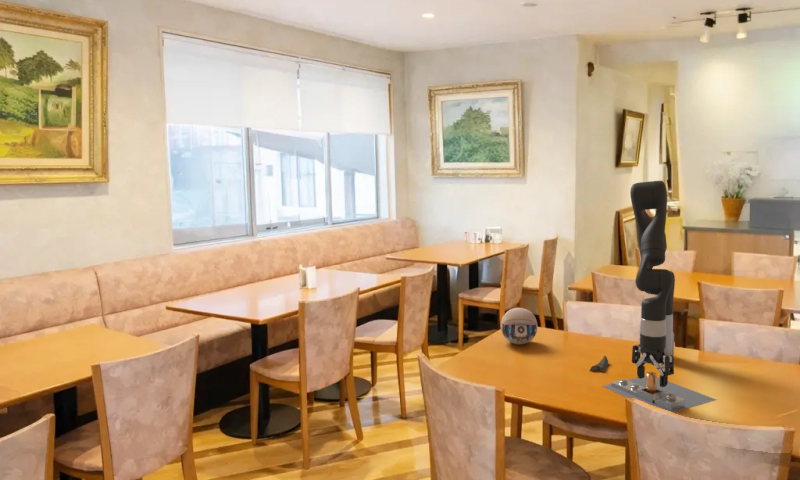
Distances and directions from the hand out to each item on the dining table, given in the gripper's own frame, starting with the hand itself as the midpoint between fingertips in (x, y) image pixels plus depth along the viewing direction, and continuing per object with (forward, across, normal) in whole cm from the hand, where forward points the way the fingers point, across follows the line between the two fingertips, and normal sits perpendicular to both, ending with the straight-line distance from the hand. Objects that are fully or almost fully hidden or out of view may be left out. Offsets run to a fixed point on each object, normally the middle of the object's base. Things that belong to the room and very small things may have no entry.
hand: (651, 382), depth 192 cm
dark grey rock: (+6, +30, -7) cm, 31 cm away
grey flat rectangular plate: (+6, +2, -5) cm, 8 cm away
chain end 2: (+5, -3, 0) cm, 6 cm away
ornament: (+6, +68, 0) cm, 68 cm away
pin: (+5, 0, 0) cm, 5 cm away
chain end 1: (+5, +5, 0) cm, 8 cm away
